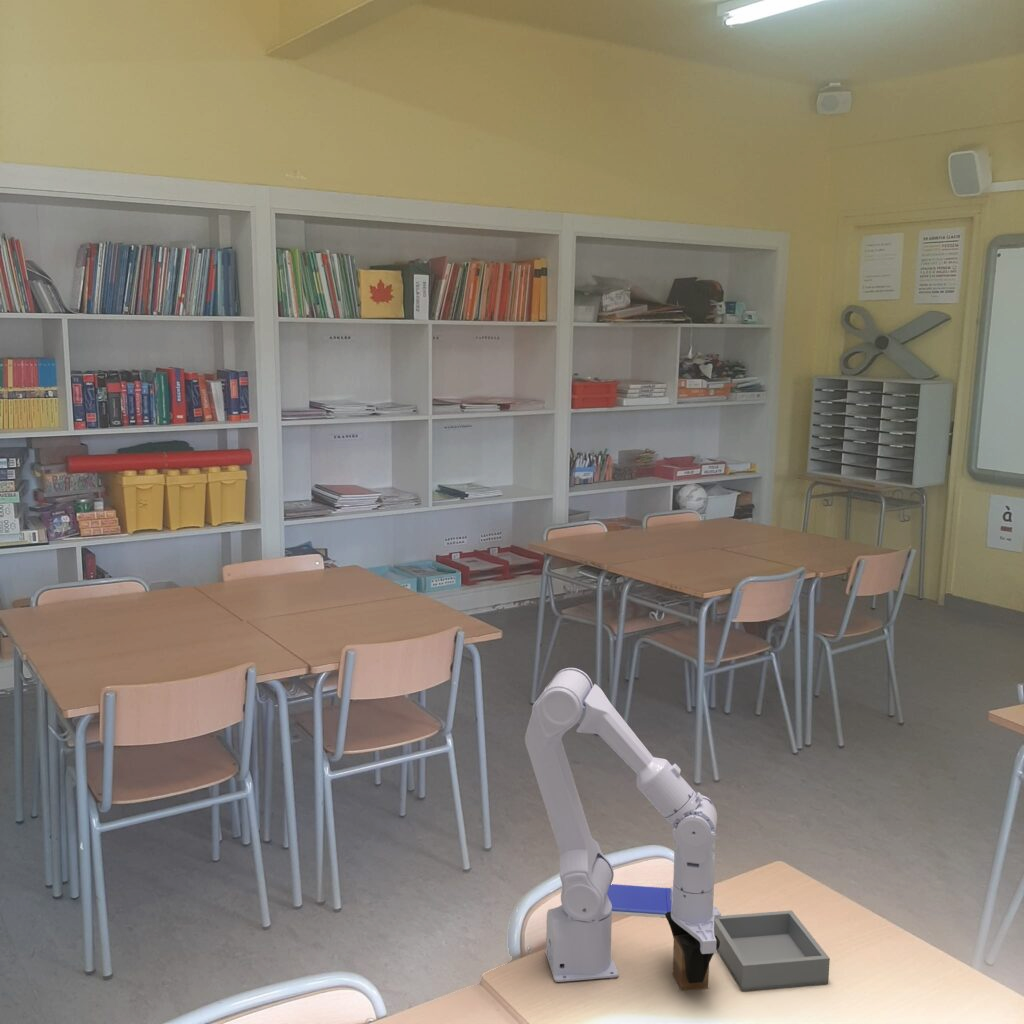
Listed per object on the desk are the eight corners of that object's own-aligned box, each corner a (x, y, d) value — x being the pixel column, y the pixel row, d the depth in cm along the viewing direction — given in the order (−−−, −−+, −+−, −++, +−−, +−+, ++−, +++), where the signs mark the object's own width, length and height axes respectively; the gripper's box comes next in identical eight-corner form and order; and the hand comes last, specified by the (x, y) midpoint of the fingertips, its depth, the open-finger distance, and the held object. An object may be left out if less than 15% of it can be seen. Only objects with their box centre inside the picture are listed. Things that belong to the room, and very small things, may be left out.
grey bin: (742, 991, 144) (743, 965, 144) (710, 940, 157) (711, 916, 156) (828, 984, 146) (829, 958, 146) (790, 934, 159) (791, 910, 158)
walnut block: (681, 990, 144) (682, 951, 144) (672, 973, 148) (673, 935, 147) (708, 988, 145) (709, 949, 144) (698, 971, 149) (700, 933, 148)
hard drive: (597, 907, 164) (674, 912, 163) (599, 881, 172) (672, 886, 171) (597, 916, 165) (674, 921, 163) (598, 890, 173) (672, 895, 171)
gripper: (739, 908, 138) (735, 1000, 140) (703, 857, 152) (700, 941, 154) (689, 912, 137) (685, 1004, 139) (658, 860, 151) (655, 945, 153)
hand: (690, 971), depth 146 cm, fingers closed on walnut block, 4 cm apart
